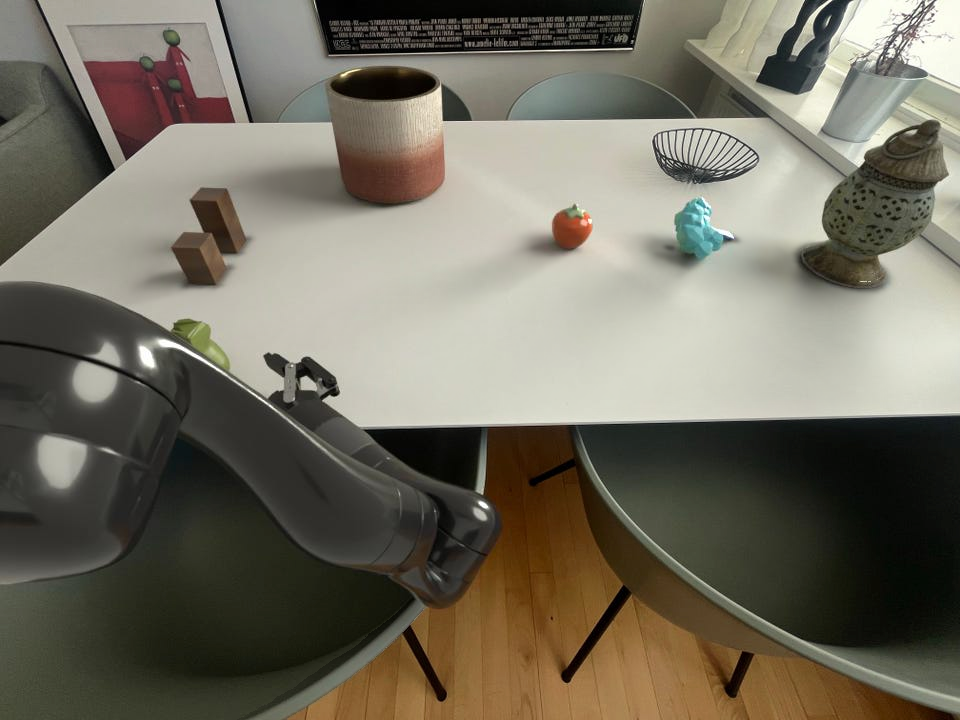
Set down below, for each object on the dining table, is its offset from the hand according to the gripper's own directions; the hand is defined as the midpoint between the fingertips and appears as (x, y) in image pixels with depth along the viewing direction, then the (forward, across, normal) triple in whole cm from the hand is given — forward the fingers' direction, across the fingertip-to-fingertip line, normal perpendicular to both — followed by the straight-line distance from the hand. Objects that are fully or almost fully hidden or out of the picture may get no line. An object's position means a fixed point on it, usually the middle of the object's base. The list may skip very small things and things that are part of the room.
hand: (236, 379), depth 57 cm
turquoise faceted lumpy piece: (-32, -73, +6) cm, 80 cm away
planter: (+30, -57, +6) cm, 64 cm away
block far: (+36, -20, +6) cm, 41 cm away
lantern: (-54, -84, +6) cm, 101 cm away
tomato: (-12, -60, +6) cm, 61 cm away
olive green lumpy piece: (+9, 0, +6) cm, 11 cm away
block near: (+30, -13, +6) cm, 33 cm away
